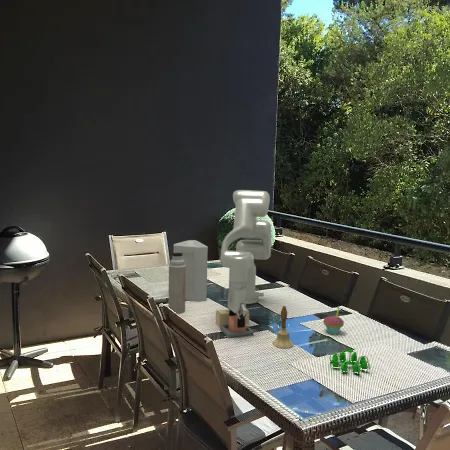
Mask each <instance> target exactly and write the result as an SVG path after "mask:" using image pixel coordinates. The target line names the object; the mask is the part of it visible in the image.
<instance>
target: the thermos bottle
mask: <svg viewBox="0 0 450 450" xmlns="http://www.w3.org/2000/svg"><path fill="white" fill-rule="evenodd" d="M182 255H183V254H182V253H174V252H172V253H171V256H172V257H171V259H170V260H169V263H170V264H168V302H167V303H168V306H167V307H169V308H170V309H172V310H173V311H174V312H176V313H178V314H183V313H185V312H186V300H185V287H186V265H185V264H184V263H185V262H184V260H183V256H182ZM176 313H175V314H176Z"/></svg>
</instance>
